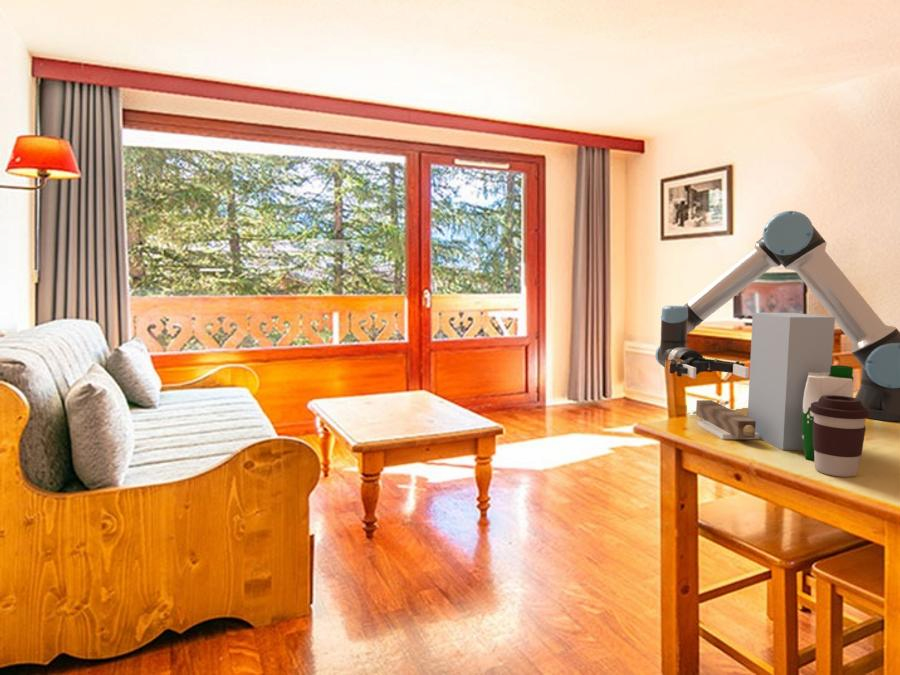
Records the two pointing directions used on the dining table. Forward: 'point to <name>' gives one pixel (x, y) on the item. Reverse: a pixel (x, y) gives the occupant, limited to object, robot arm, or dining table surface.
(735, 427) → the pepper mill
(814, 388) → the milk carton
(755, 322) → the stand
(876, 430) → the dining table surface
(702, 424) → the plate
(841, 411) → the coffee cup
